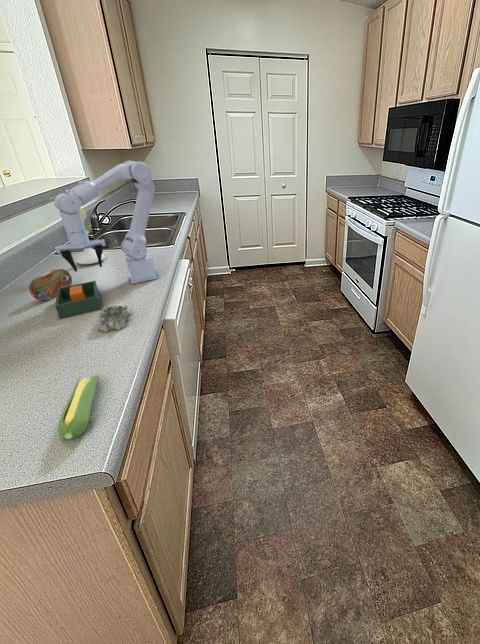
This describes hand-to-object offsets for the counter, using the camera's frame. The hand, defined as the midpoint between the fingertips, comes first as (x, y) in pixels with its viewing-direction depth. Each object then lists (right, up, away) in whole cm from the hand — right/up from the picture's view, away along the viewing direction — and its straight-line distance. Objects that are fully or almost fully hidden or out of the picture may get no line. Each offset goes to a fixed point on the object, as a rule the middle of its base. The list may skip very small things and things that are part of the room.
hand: (88, 268), depth 118 cm
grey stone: (+18, -18, -15) cm, 30 cm away
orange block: (0, -12, -4) cm, 13 cm away
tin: (-14, -9, +3) cm, 17 cm away
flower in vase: (-18, +5, +32) cm, 37 cm away
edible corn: (+29, -34, -47) cm, 65 cm away
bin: (0, -13, -4) cm, 13 cm away
